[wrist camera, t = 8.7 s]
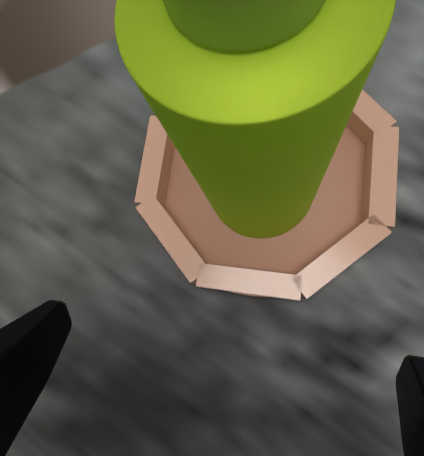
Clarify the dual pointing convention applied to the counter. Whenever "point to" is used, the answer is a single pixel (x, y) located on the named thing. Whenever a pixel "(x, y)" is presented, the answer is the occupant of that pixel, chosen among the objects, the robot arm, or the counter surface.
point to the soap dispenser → (253, 93)
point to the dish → (290, 241)
